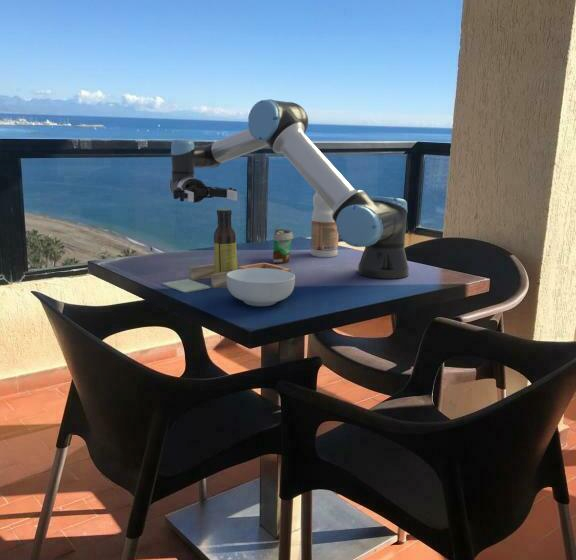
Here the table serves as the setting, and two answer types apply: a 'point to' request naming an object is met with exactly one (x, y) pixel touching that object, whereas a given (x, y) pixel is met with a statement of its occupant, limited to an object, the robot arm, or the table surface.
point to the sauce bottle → (224, 243)
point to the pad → (186, 285)
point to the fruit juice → (323, 230)
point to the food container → (282, 246)
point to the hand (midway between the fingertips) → (214, 196)
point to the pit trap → (265, 266)
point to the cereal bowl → (260, 285)
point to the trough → (210, 274)
